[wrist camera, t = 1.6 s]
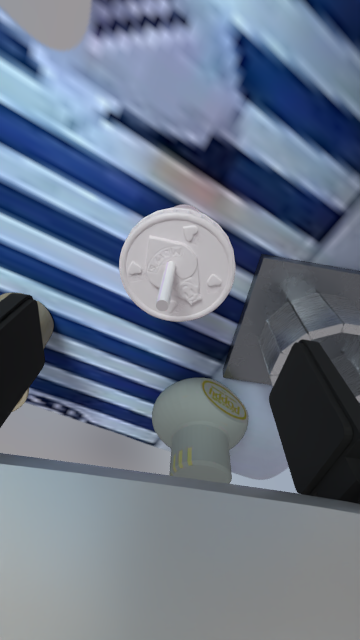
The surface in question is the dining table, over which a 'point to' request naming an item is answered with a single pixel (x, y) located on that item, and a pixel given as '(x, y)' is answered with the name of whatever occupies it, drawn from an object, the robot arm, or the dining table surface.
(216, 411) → the air freshener
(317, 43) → the dining table surface
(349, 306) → the duct collar
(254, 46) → the dining table surface
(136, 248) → the smoothie
